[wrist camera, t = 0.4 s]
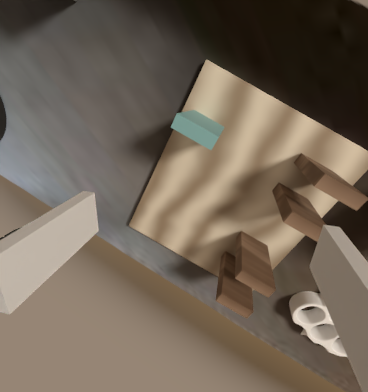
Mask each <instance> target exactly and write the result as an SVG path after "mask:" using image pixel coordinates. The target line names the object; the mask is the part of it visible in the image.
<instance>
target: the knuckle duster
mask: <svg viewBox="0 0 368 392" xmlns="http://www.w3.org/2000/svg"><path fill="white" fill-rule="evenodd" d="M309 306H315V307H316V308H313V309H311V310H307V311H304V310H301V309H303V308H306V307H309ZM289 307H290V311H291V316H292V319H293V321H294V323H296V324H298V325H300V326H302V327H303V328H304V329H303V331H302V332H301V335H307V336H308V337H309V338H310V339H311V340H312V341H313V342H314V343H317V344H320V345H322V346H324V347H325V348H326V351H328V352H330V353H332V354H335V355H338V356H345V357H347V354H346V352H345V350H344V347H343V345H342V343H341V340H340V339H337V338H339V336H338V333H337V331H336V328H335V326H334V324H333V321H332V319H331V317H330V314H329V312H328V310H327V307H326V305H325V303H324V300H323V298H322V296H321V293H315V292H311V291H303V292H299V293H297V294H295V295H293V296H292V297H291V299H290V301H289ZM320 324H325V325H323V326H317V325H320Z"/></svg>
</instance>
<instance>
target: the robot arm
mask: <svg viewBox="0 0 368 392" xmlns="http://www.w3.org/2000/svg"><path fill="white" fill-rule="evenodd" d="M5 127H6V114H5V109H4V105H3V102H2V99H1V97H0V140H1V138H2V137H3V135H4V132H5ZM98 231H99V228H98V220H97V211H96V202H95V193H93V192H86V191H83V192H81V193H79V194H78V195H76V196H74V197H73V198H71V199H69V200H68V201H66V202H64V203H62V204H61V205H59V206H57V207H56V208H54V209H52V210H51V211H49V212H47V213H46V214H44V215H42V216H40V217H39V218H37V219H35V220H34V221H32V222H30V223H29V224H27V225H25V226H23V227H21V228H18V229H16V230H14V231H12V232H10V233H9V234H7V235H5V237H2V238H0V312H2V313H6V314H10V313H12V312H13V311H14V310H15V309H16V308H17V307H18V306H19V305H20V304H21V303H22V302H23V301H24V300H25V299H27V298H28V297H29V296H30V295H31V294H32V293H33V292H34V291H35V290H36V289H37V288H38V287H39V286H40V285H42V284H43V283H44V282H45V281H46V280H47V279H48V278H49V277H50V276H51V275H52V274H53V273H54V272H55V271H56V270H57V269H59V267H61V266H62V265H63V264H64V263H65V262H66V261H67V260H68V259H69V258H70V257H71V256H72V255H73V254H75V253H76V252H77V251H78V250H79V249H80V248H81V247H82V246H83V245H84V244H85V243H86V242H87V241H88V240H89V239H91V238H92V237H93V236H94V235H95V234H96V233H97V232H98ZM309 267H310V270H311V272H312V274H313V277H314V279H315V281H316V284H317V286H318V288H319V291H320V293H321V296H322V298H323V300H324V303H325V305H326V307H327V310H328V312H329V314H330V317H331V319H332V321H333V324H334V326H335V328H336V331H337V333H338V336H339V338H340V340H341V343H342V345H343V347H344V350H345V352H346V354H347V357H348V359H349V361H350V364H351V366H352V369H353V371H354V373H355V376H356V378H357V380H358V383H359V385H360V387H361V390H362V392H368V262H367V261H366V260H365V258H364V257H363V256H362V255H361V253H360V252H359V251H358V250H357V248H356V247H355V246H354V244H353V243H352V242H351V241H350V239H349V238H348V237H347V236H346V234H345V233H344V232H343V231H342V229H341V228H340V227H336V226H329V225H323V228H322V231H321V234H320V237H319V239H318V242H317V245H316V248H315V251H314V254H313V257H312V260H311V263H310V266H309Z"/></svg>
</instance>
